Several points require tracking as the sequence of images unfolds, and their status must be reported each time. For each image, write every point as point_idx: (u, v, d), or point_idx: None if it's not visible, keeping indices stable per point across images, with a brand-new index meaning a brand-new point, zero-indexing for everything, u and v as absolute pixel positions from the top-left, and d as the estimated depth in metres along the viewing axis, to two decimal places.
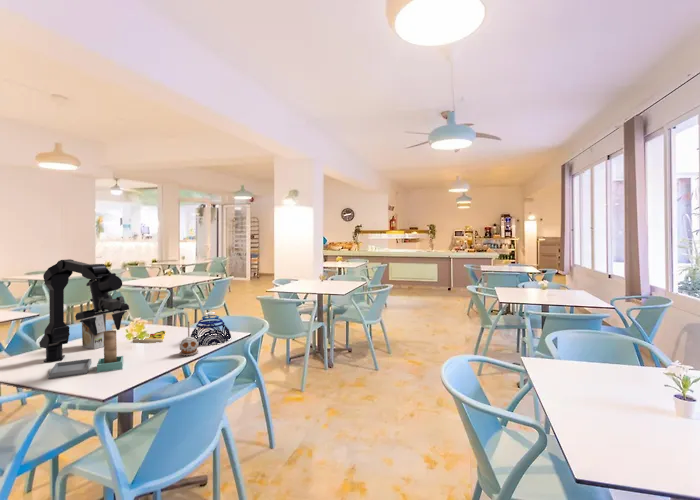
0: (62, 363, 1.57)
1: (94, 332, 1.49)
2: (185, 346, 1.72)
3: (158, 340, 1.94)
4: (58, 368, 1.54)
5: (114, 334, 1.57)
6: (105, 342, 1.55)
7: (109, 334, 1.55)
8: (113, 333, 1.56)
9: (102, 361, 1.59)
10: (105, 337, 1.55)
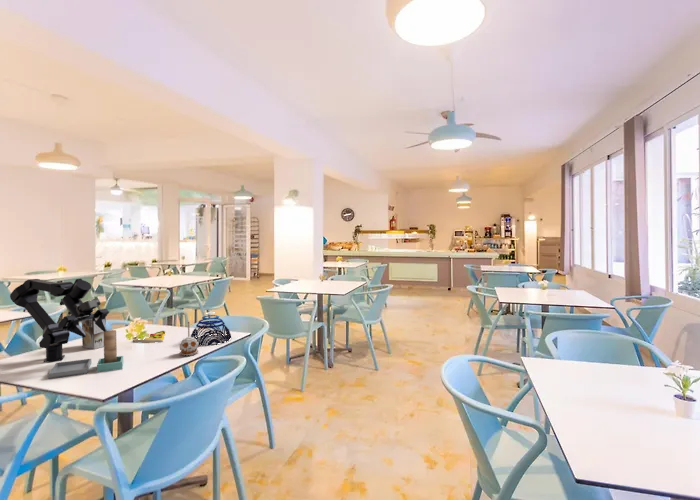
0: (62, 363, 1.57)
1: (82, 334, 1.55)
2: (185, 346, 1.72)
3: (158, 340, 1.94)
4: (58, 368, 1.54)
5: (114, 334, 1.57)
6: (105, 342, 1.55)
7: (109, 334, 1.55)
8: (113, 333, 1.56)
9: (102, 361, 1.59)
10: (105, 337, 1.55)
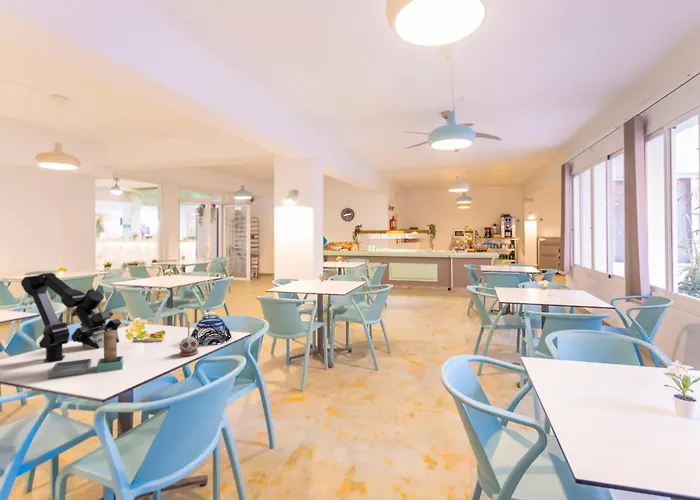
0: (62, 363, 1.57)
1: (95, 346, 1.53)
2: (185, 346, 1.72)
3: (158, 340, 1.95)
4: (58, 368, 1.54)
5: (114, 334, 1.57)
6: (105, 342, 1.55)
7: (109, 334, 1.55)
8: (113, 333, 1.56)
9: (102, 361, 1.59)
10: (105, 337, 1.55)
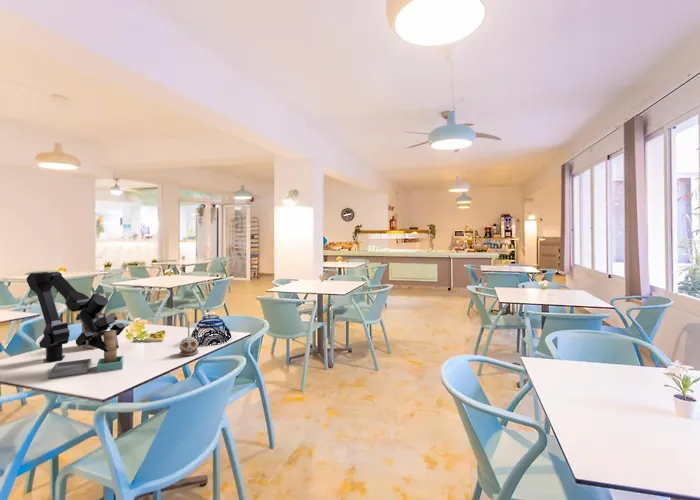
0: (62, 363, 1.57)
1: (104, 349, 1.54)
2: (185, 346, 1.72)
3: (159, 340, 1.95)
4: (58, 368, 1.54)
5: (114, 334, 1.57)
6: (105, 342, 1.55)
7: (109, 334, 1.55)
8: (113, 333, 1.56)
9: (102, 361, 1.59)
10: (105, 337, 1.55)
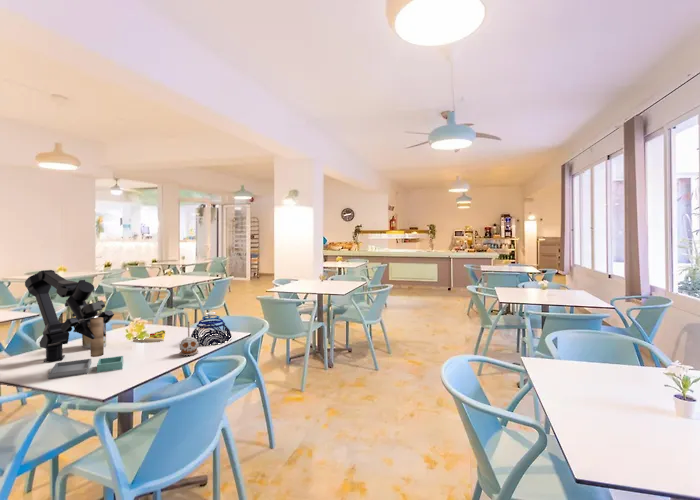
0: (62, 363, 1.57)
1: (90, 336, 1.52)
2: (185, 346, 1.72)
3: (159, 339, 1.95)
4: (58, 368, 1.54)
5: (101, 321, 1.54)
6: (91, 329, 1.52)
7: (95, 321, 1.52)
8: (100, 320, 1.53)
9: (102, 361, 1.59)
10: (91, 324, 1.52)
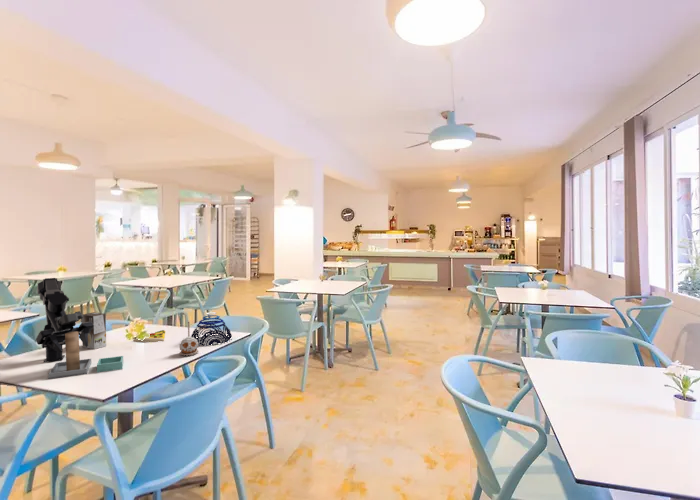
0: (62, 363, 1.57)
1: (58, 349, 1.47)
2: (185, 346, 1.72)
3: (159, 339, 1.96)
4: (58, 368, 1.54)
5: (75, 336, 1.51)
6: (66, 344, 1.50)
7: (69, 336, 1.50)
8: (74, 335, 1.51)
9: (102, 361, 1.59)
10: (66, 339, 1.50)
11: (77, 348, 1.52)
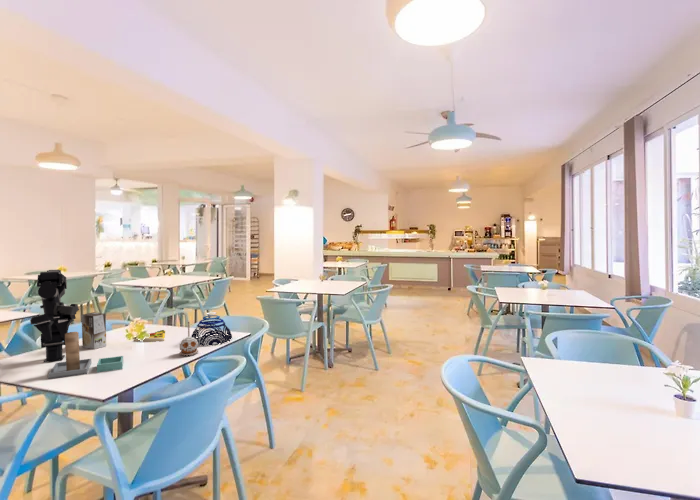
0: (62, 363, 1.57)
1: (48, 337, 1.50)
2: (185, 346, 1.72)
3: (159, 339, 1.96)
4: (58, 368, 1.54)
5: (75, 336, 1.50)
6: (66, 344, 1.50)
7: (69, 336, 1.49)
8: (73, 335, 1.50)
9: (102, 361, 1.59)
10: (65, 339, 1.49)
11: (77, 348, 1.51)
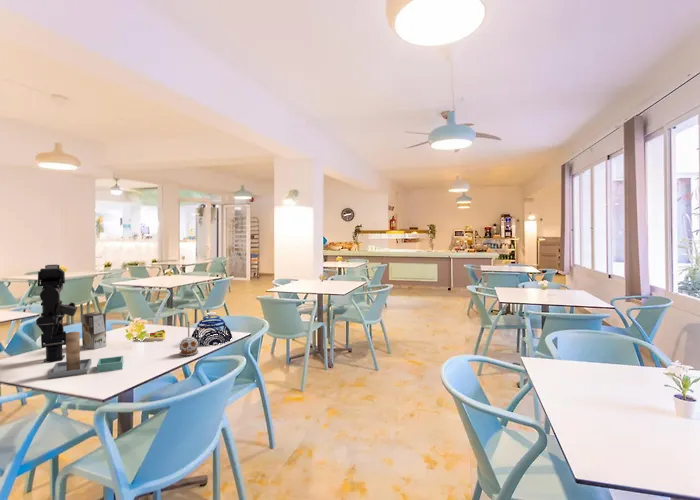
0: (62, 363, 1.57)
1: (49, 337, 1.51)
2: (185, 346, 1.72)
3: (160, 339, 1.97)
4: (58, 368, 1.54)
5: (76, 336, 1.50)
6: (66, 344, 1.50)
7: (70, 336, 1.49)
8: (74, 335, 1.50)
9: (102, 361, 1.59)
10: (66, 339, 1.50)
11: (77, 349, 1.51)
